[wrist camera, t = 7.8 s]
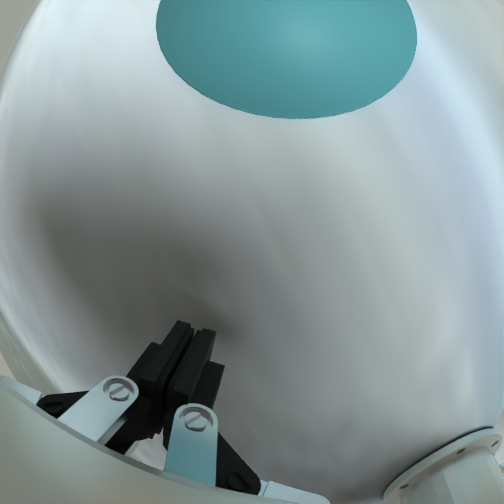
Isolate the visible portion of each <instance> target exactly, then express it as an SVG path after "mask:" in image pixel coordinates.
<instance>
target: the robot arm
mask: <svg viewBox="0 0 504 504" xmlns="http://www.w3.org/2000/svg"><path fill="white" fill-rule="evenodd" d="M193 335H194V328H191V324H189V323H186V322H183V321H180V320H178V321H177V322H176V324H175V325H174V327H173V328H172V329H171V331H170V332H169V334H168V335H167V337H166V338H165V340H164V341H163V342H162V344H161V345H159V344H157V343H154V342H152V343H151V344H150V345H149V346H148V347H147V349H146V350H145V351H144V353H143V354H142V355H141V357H140V358H139V359H138V361H137V362H136V363H135V365H134V366H133V368H132V369H131V370H130V372H129V373H128V374H127V376H126V377H124V376H119V375H114V376H109V377H106V378H105V379H103V380H102V381H101V382H99V383H98V384H97V385H96V386H95V387H94V388H93V389H91V390H90V391H83V392H73V393H63V394H51V395H46V396H43V394H42V392H40V391H37V390H35V389H33V388H30V387H28V386H26V385H24V384H22V383H19V382H17V381H15V380H13V379H11V378H9V377H6V376H0V504H330V502H329V500H327V499H326V498H325V497H323V496H321V495H319V494H314V493H311V492H307V491H303V490H299V489H296V488H292V487H289V486H286V485H282V484H279V483H276V482H273V481H269V482H266V481H263V480H260V479H259V478H258V476H257V475H256V474H255V473H254V472H253V470H252V469H251V468H250V467H249V466H248V465H247V464H246V463H245V462H244V461H243V460H242V459H241V458H240V456H239V455H238V454H237V453H236V452H235V451H234V450H233V449H232V447H231V446H230V445H229V444H228V443H227V442H226V441H225V439H224V438H223V437H222V436H221V435H220V433H219V432H218V419H217V416H216V415H215V413H214V412H213V411H212V409H213V405H214V402H215V399H216V395H217V392H218V388H219V385H220V382H221V378H222V374H223V371H224V367H225V365H221V364H218V363H214V362H211V361H210V357H211V352H212V348H213V344H214V340H215V335H216V332H215V331H212V330H208V329H205V328H203V330H202V331H200V330H197V332H196V334H195V336H194V338H193ZM163 426H164V428H163ZM162 428H163V446H164V447H165V449H166V450H167V456H166V462H165V467H164V471H162V470H159V469H156V468H153V467H151V466H148V465H146V464H143V463H141V462H138V461H136V460H133V459H131V458H129V456H130V455H131V454H132V452H133V451H134V450H135V448H136V447H137V446H138V444H139V441H140V440H143V439H147V438H150V439H152V438H153V436H154V434H155V433H157V434H160V433H161V430H162ZM500 444H501V436H500V435H499V433H498V431H497V430H495V429H490V428H489V429H483V430H480V431H477V432H474V433H471V434H469V435H467V436H464V437H462V438H460V439H458V440H456V441H454V442H452V443H450V444H448V445H447V446H445V447H443V448H441V449H439V450H438V451H436V452H434V453H433V454H431V455H429V456H428V457H426V458H424V459H423V460H421V461H420V462H418V463H417V464H415V465H414V466H412V467H411V468H410V469H408V470H407V471H405V472H404V473H403V474H401V475H400V476H399V477H398V478H397V479H395V480H394V481H393V482H392V483H391V484H390V485H389V486H388V488H387V489H386V491H385V492H384V496H383V498H384V503H385V504H504V478H503V477H504V475H503V474H504V463H503V464H500V465H498V463H497V461H496V459H495V457H494V455H495V454H496V452H497V451H498V449H499V447H500Z"/></svg>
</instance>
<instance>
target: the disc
mask: <svg viewBox="0 0 504 504" xmlns="http://www.w3.org/2000/svg"><path fill="white" fill-rule="evenodd" d="M156 30H157V38H158V41H159V45H160V48H161V51H162V52H163V54H164V56H165V58H166V60H167V62H168V63H169V64H170V66H171V67H172V68H173V69H174V71H175V72H176V73H177V74H178V75H179V76H180V77H181V78H182V79H183V80H184V81H186V82H187V83H188V84H189V85H190V86H192V87H193V88H194V89H196V90H197V91H199V92H200V93H202V94H203V95H205V96H207V97H209V98H211V99H213V100H215V101H217V102H219V103H221V104H224V105H226V106H229V107H232V108H234V109H237V110H241V111H245V112H248V113H252V114H257V115H263V116H269V117H275V118H289V119H306V118H320V117H328V116H335V115H339V114H343V113H347V112H351V111H354V110H356V109H359V108H361V107H364V106H367V105H369V104H370V103H372V102H374V101H376V100H378V99H379V98H381V97H383V96H384V95H385V94H386V93H388V92H389V91H390V90H392V89H393V88H394V87H395V86H396V85H397V84H398V83H399V82H400V81H401V80H402V79H403V77H404V76H405V74H406V73H407V71H408V69H409V68H410V66H411V63H412V61H413V58H414V55H415V50H416V45H417V31H416V25H415V20H414V17H413V14H412V11H411V8H410V6H409V4H408V2H407V0H161V1H160V4H159V8H158V12H157V19H156Z"/></svg>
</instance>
